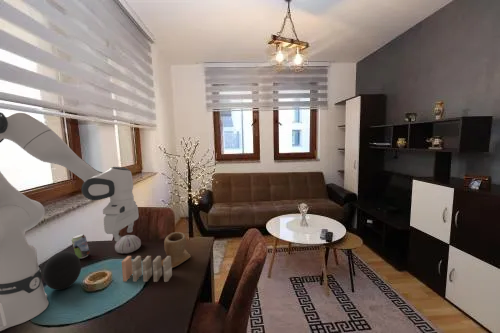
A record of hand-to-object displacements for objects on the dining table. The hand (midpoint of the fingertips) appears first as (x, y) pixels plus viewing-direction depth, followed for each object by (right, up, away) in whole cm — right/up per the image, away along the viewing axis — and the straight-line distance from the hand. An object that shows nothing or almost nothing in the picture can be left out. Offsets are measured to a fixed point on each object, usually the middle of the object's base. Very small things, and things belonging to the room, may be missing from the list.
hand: (124, 236), depth 104 cm
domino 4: (+14, -19, +2) cm, 24 cm away
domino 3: (+10, -19, +2) cm, 21 cm away
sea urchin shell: (-13, -17, +31) cm, 37 cm away
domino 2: (+5, -19, +2) cm, 20 cm away
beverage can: (-34, -18, +22) cm, 44 cm away
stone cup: (+19, -18, +15) cm, 30 cm away
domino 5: (+19, -19, +2) cm, 27 cm away
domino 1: (+1, -19, +2) cm, 19 cm away
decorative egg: (-23, -20, -4) cm, 31 cm away
